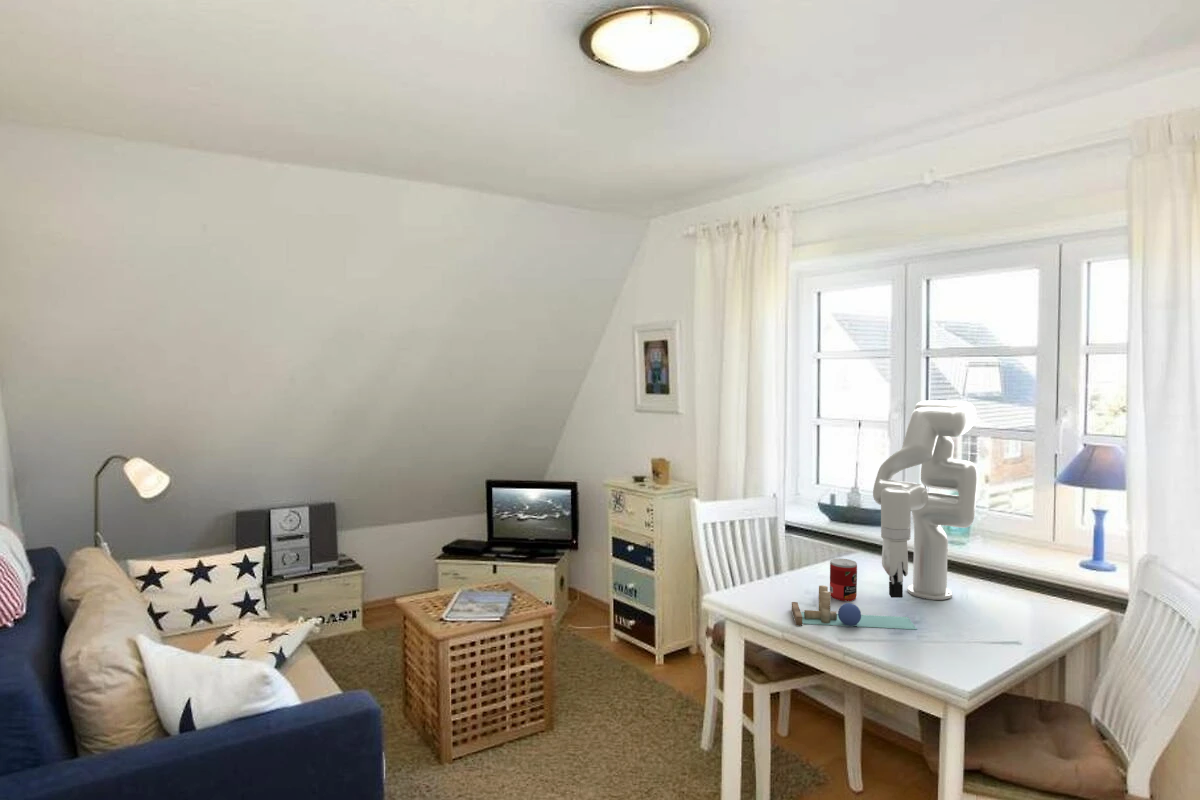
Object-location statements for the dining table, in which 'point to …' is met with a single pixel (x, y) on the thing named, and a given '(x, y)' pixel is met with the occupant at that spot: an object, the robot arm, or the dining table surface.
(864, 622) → the panel
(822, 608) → the pin
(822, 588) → the pin
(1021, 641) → the dining table surface
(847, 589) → the canned food
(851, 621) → the ball
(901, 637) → the dining table surface
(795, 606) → the block
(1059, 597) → the dining table surface
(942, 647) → the dining table surface
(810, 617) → the pin front
